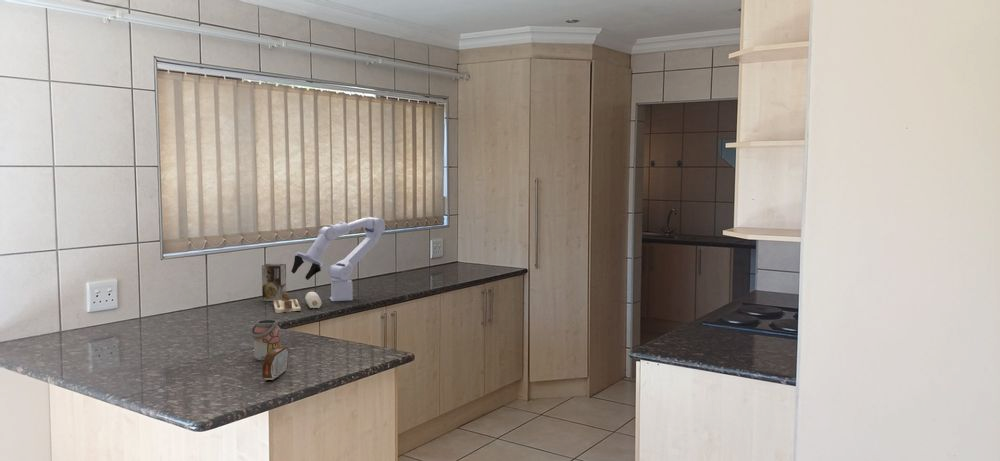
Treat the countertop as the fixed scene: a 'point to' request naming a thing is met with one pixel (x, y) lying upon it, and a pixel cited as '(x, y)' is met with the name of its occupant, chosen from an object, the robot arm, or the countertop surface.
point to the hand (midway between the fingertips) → (299, 275)
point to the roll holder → (286, 304)
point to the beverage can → (265, 337)
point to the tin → (275, 361)
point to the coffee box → (273, 281)
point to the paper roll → (313, 300)
